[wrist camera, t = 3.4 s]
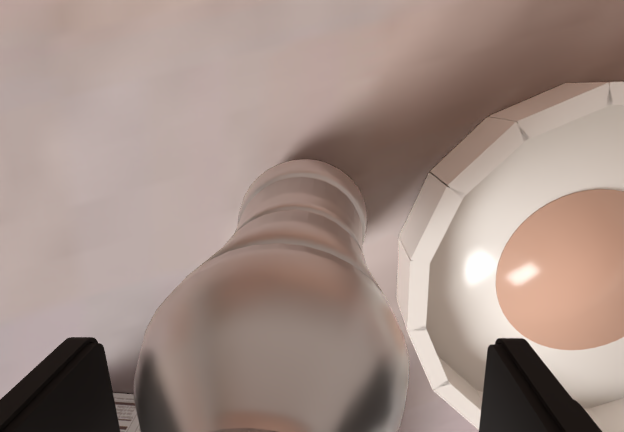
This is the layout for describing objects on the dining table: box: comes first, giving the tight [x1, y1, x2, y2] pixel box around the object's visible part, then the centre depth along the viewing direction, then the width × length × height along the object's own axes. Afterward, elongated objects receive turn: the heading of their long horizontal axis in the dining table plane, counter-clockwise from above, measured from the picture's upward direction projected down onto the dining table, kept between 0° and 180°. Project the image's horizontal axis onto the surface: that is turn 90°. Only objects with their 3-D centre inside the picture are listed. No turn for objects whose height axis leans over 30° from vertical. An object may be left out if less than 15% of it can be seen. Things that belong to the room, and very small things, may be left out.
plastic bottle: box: [134, 159, 409, 432], centre depth 14 cm, size 6×7×20 cm
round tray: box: [396, 81, 624, 432], centre depth 23 cm, size 21×21×4 cm
